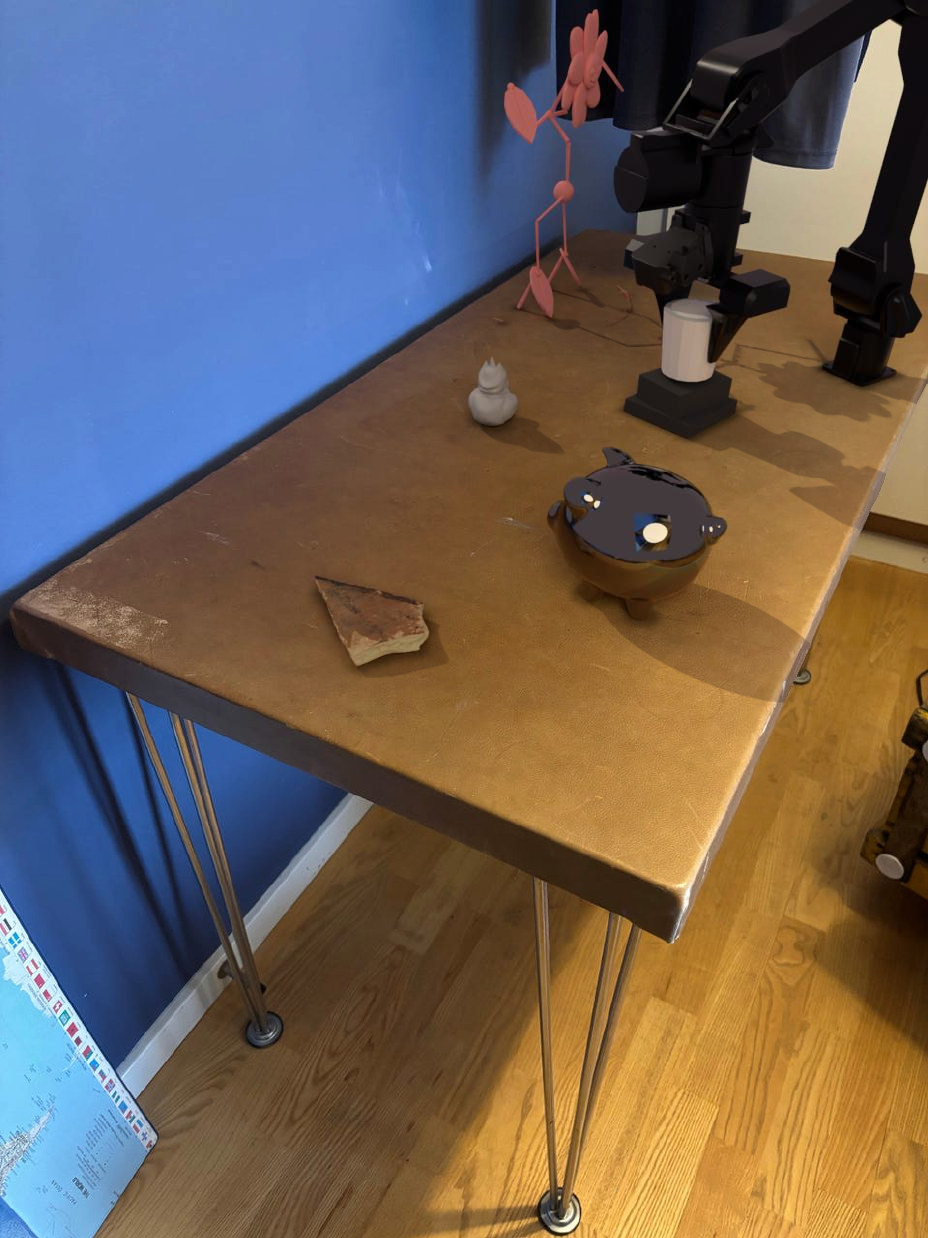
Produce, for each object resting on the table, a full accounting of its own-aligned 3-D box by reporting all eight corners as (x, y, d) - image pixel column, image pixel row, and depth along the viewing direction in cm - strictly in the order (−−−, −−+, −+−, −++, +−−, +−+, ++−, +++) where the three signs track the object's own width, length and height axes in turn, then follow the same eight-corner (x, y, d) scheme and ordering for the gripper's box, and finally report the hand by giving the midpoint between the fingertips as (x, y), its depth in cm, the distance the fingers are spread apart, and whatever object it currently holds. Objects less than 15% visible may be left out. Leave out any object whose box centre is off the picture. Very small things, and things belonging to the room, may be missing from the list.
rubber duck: (460, 428, 101) (459, 359, 96) (481, 403, 106) (482, 336, 101) (505, 437, 100) (508, 368, 95) (525, 411, 104) (528, 344, 99)
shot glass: (719, 386, 98) (730, 323, 93) (654, 381, 99) (663, 318, 95) (718, 360, 103) (729, 299, 99) (657, 355, 104) (665, 294, 100)
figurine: (484, 327, 123) (489, 20, 101) (562, 270, 141) (581, -3, 118) (589, 349, 118) (618, 29, 95) (657, 287, 135) (695, 4, 113)
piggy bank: (575, 532, 86) (585, 421, 78) (729, 583, 79) (756, 468, 72) (516, 594, 78) (521, 478, 71) (681, 656, 72) (705, 536, 65)
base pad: (671, 387, 109) (673, 375, 108) (735, 413, 104) (738, 400, 103) (623, 411, 104) (625, 398, 103) (687, 439, 99) (689, 425, 98)
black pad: (687, 380, 107) (691, 357, 105) (727, 401, 103) (732, 378, 101) (635, 397, 104) (638, 373, 102) (675, 419, 100) (679, 395, 98)
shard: (316, 589, 79) (313, 572, 78) (400, 570, 81) (399, 554, 80) (348, 668, 71) (347, 651, 70) (441, 646, 73) (440, 628, 72)
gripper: (590, 190, 92) (579, 339, 102) (724, 239, 80) (696, 402, 90) (672, 174, 97) (654, 318, 107) (810, 218, 85) (774, 375, 95)
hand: (690, 351), depth 100 cm, fingers closed on shot glass, 6 cm apart
